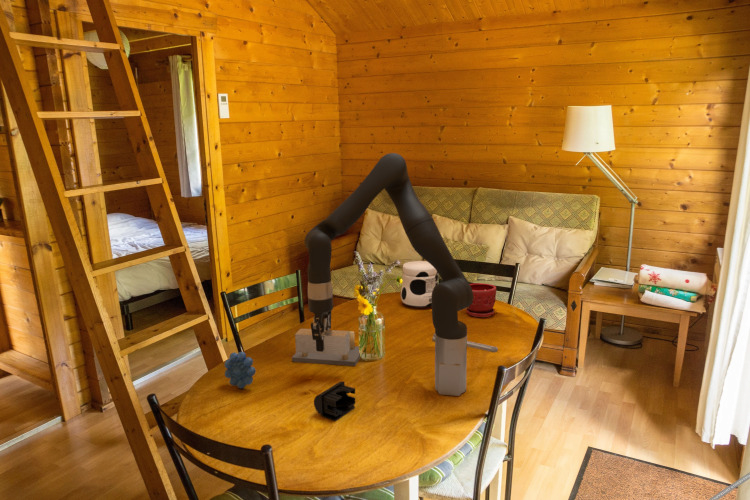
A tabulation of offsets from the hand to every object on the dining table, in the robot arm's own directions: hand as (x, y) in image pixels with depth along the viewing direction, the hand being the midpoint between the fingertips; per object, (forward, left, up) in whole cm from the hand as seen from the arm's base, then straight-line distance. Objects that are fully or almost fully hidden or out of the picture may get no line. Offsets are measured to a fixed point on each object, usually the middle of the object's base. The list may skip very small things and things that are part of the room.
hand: (322, 347), depth 172 cm
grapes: (-11, +22, -10) cm, 27 cm away
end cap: (-20, -10, -10) cm, 25 cm away
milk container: (+78, -20, -10) cm, 81 cm away
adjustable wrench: (+33, -41, -10) cm, 54 cm away
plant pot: (+69, -46, -10) cm, 83 cm away
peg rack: (+16, +3, -10) cm, 19 cm away
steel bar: (0, 0, -1) cm, 1 cm away
